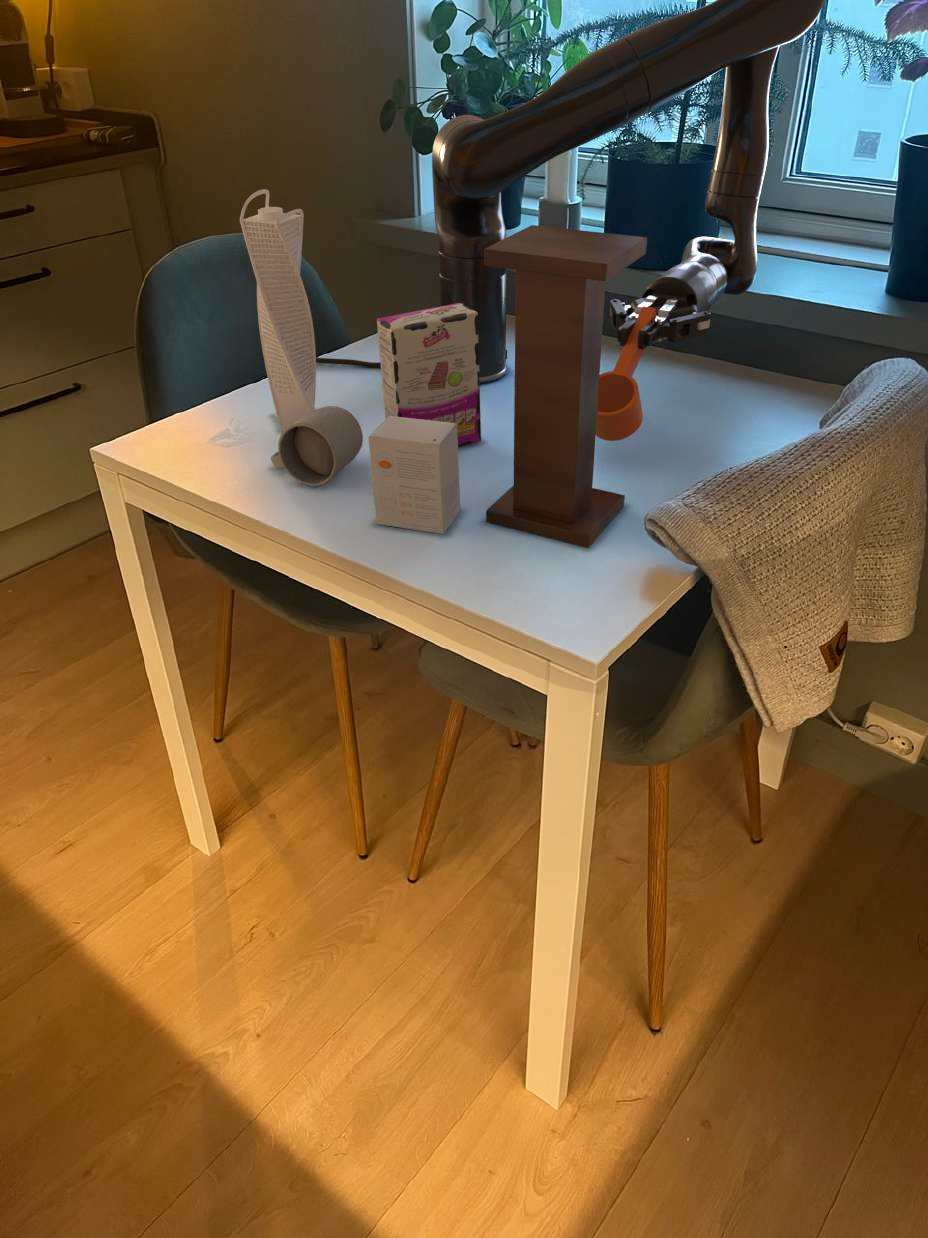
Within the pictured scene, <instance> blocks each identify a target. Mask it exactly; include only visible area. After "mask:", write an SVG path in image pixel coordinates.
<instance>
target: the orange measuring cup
mask: <svg viewBox="0 0 928 1238" xmlns="http://www.w3.org/2000/svg"><path fill="white" fill-rule="evenodd" d="M655 318H656V309H655V308H652V307H645V306H643V307H642V309H641V311H640V313H639V316H638V318H637V320H636V323H635V325H634V327H633V329H632V331H631V334H630V336H629V338H628V340H627V342H626V344H625V346H623V348H622V351H621V353H620V355H619V357H618V360H617V361H616V363H615V366H614V368H613V370H612V371H611V370H610V371H606V372H602V373H600V375H599V390H598V406H597V421H596V437H597V438H599V439H600V440H603V441H607V442H608V441H609V442H616V441H622V440H624V439H627V438H629V437H631V436H633V435H634V434H635V433H636V432H637V431H638V430H639V428H640V427H641V426H642V423H643V419H644V414H643V407H642V401H641V395H640V389H639V385H638V382H637V380H636V379H635V378H634V377H633V376H634V373H635V371H636V368H637V367H638V365H639V362H640V360H641V358H642V355H643V353H644V351H645V349H638V347H637V345H638V334H639V331H640V330H641V329H642V328H643V327H644V326H645V325H646V324H648V323H649V322H653V321H654V319H655Z"/></svg>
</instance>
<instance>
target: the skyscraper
mask: <svg viewBox="0 0 928 1238" xmlns="http://www.w3.org/2000/svg"><path fill="white" fill-rule="evenodd" d="M260 195H265V206H264V207H260V208H258V209H257V214H255V215H252V216H249V217H247V218H244V217H245V214H246V209H247V207H248V205H249V204H250V202H251V201H252V200H254V198H256V197H258V196H260ZM269 205H270V190H268V189H266V188H263V189H259V190H256V191H255V192H253V193H252V194H250V195H249V197H248V198H247V199H246V200H245V202H244V204H243V206H242V209H241V212H240V216H239V224H240V227H241V231H242V234H243V238H244V242H245V245H246V249H247V252H248V255H249V256H248V257H249V259H250V262H251V267H252V270H253V274H254V276H255V281H256V308H257V321H258V330H259V337H260V338H259V339H260V343H261V344H260V345H261V350H262V355H263V359H264V360H263V362H264V366H265V367H264V368H265V371H266V376H267V381H268V384H269V389H270V392H271V397H272V402H273V405H274V410H275V415H274V417H275V418H276V419H277V421H278V424H279V428H280V433H283V431H284V430H285V429H286V428H287V427H288V426H290V425H291V424H293V423H295V422H297V421H298V420H300V419H302V418H304V417H305V416H307V415H309V414H310V413H312V412H313V411H315V410H316V409H315V405H316V385H317V363H316V358H317V354H316V340H315V330H314V323H313V317H312V311H311V307H310V303H309V299H308V295H307V292H306V289H305V285H304V282H303V278H302V277H301V269H302V268H301V267H302V255H303V252H302V251H303V238H304V218H305V214H304V211H303V209H302V208H296V209H293V210H290V211H288V212H284V210H283V207H281V206H280V207H279V206H269Z"/></svg>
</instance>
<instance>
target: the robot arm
mask: <svg viewBox="0 0 928 1238" xmlns="http://www.w3.org/2000/svg"><path fill="white" fill-rule="evenodd" d="M824 2H825V0H714V1H712V2H711V3H708V4H706V5H705V6H702V7H699V8H697V9H694V10H691V11H687V12H685V13H681V14H679V15H675V16H672V17H669V18H666V19H662V20H660V21H657V22H655V23H652V24H650V25H647V26H644V27H642V28H639V29H637V30H635V31H633V32H630V33H628V34H626V35H624V36H622V37H620V38H618V39H616V40H614V41H611V42H610V43H608V44H606V45H603V46H602V47H600V48H599V49H597V50H595V51H593V52H592V53H590V54H588V55H586V56H585V57H583V58H582V59H581V60H579V61H578V62H576V63H575V64H574V65H573V66H572V67H570V68H569V69H568V70H567V71H566V72H564V73H563V74H562V75H561V76H559V78H558V79H556V80H555V81H554V82H553V83H552V84H551V85H550V86H549V87H547V88H546V89H545V90H544V91H543V92H541V93H540V94H539V95H537V96H535V97H533V98H532V99H531V100H528V101H527V102H525V103H522V104H521V105H518V106H516V107H514V108H511V109H509V110H507V111H505V112H502V113H500V114H498V115H495V116H492V117H489V118H486V119H483V118H481V117H479V116H476V115H471V114H463V115H458V116H455V117H453V118H451V119H449V120H447V122H445V124H443V125H442V127H440V129H439V131H438V132H437V134H436V136H435V139H434V142H433V146H432V150H431V151H432V152H431V173H432V175H431V176H432V177H431V178H432V193H433V208H434V209H433V213H434V214H433V215H434V224H435V229H436V234H437V245H438V269H439V270H438V271H439V272H438V273H439V274H438V275H439V301H440V304H439V305H440V306H446V305H452V304H457V303H462V304H464V306H467V307H469V308H470V309H472V310H474V311H476V312H477V313H478V346H479V384H480V383H488V382H493V381H496V380H498V379H500V378H502V377H503V376H505V375H506V373H507V363H506V362H507V360H508V349H507V268H499V267H491V266H485V265H484V249H485V248H487V247H489V246H491V245H493V244H495V243H497V242H499V241H501V240H503V239H505V238H507V229H506V225H505V221H504V217H503V216H504V215H503V210H502V209H503V208H502V192H503V191H505V190H506V189H508V188H509V187H511V186H512V185H514V184H515V183H517V182H518V181H520V180H521V179H522V178H524V177H525V176H527V175H528V174H530V173H532V172H533V171H534V170H536V169H538V168H539V167H541V166H543V165H544V164H546V163H547V162H549V161H551V160H552V159H555V158H557V157H558V156H560V155H562V154H565V153H567V152H568V151H572V150H574V149H576V148H578V147H581V146H583V145H585V144H587V143H589V142H591V141H592V142H593V140H595V139H596V140H597V139H598V138H600V137H602V136H604V135H606V134H608V133H610V132H613V131H615V130H617V129H619V128H622V127H624V126H625V125H627V124H629V123H632V122H633V121H635V120H637V119H639V118H641V117H643V116H645V115H646V114H649V113H651V112H653V111H654V110H656V109H658V108H660V107H661V106H663V105H665V104H667V103H668V102H670V101H672V100H674V99H676V98H677V97H679V96H681V95H682V94H684V93H686V92H687V91H689V90H691V89H692V88H694V87H695V86H697V85H699V84H700V83H702V82H704V81H705V80H707V79H708V78H710V77H711V76H714V74H716V73H719V72H720V71H722V70H724V69H725V77H724V85H723V87H724V88H723V98H722V107H721V113H720V114H721V115H720V122H719V128H718V135H717V140H716V146H715V151H714V156H713V160H712V161H713V162H712V165H711V171H710V177H709V181H708V182H709V183H708V187H707V192H706V196H705V202H704V212H705V214H706V215H707V216H708V217H710V218H712V219H714V220H717V221H719V222H722V223H724V224H726V225H727V226H729V227H730V228H731V229H730V230H731V231H732V233H733V238H734V240H732V239H725V238H718V237H712V236H698V237H695V238H692V239H690V240H689V242H688V243H687V244H686V246H685V247H684V250H683V253H682V256H681V261H680V263H679V264H677V265H674V266H673V267H671V268H669V269H668V270H667V271H665V272H664V273H663V274H661V275H660V276H658V278H656V279H655V280H654V281H652V282H651V283H650V284H649V285H648V286H647V287H646V289H645V291H644V292H643V294H642V295H641V298H638V299H634V300H632V301H631V303H630V304H627V305H626V303H625V302H621V300H620V299H617V298H613V299H610V301H609V302H610V303H609V304H610V305H609V317H608V320H609V323H610V325H611V327H612V329H613V331H614V333H615V334H616V335H617V343H618V342H619V346H620V347H624V346H625V344H626V342H627V340H628V338H629V336H630V334H631V331H632V329H633V327H634V325H635V323H636V320H637V318H638V316H639V313H640V311H641V309H642V307H643V306H645V307H652V308H655V309H656V318H655V319H654V321H653V322H649V323H648V324H646V325H645V326H644V327H643V328H642V329H641V330H640V331H639V334H638V345H637V347H638V349H644V350H646V348H648V347H651V346H653V345H654V344H655V343H660V342H662V341H664V340H667V342H670V343H678V342H681V341H686V340H689V339H695V338H698V337H702V336H706V335H708V334H709V331H710V327H711V325H710V324H711V314H712V313H711V312H710V309H711V308H712V306H713V305H714V304H715V303H716V302H718V301H719V299H720V298H721V297H722V296H723V295H724V294H725V295H729V296H739V295H742V294H744V293H746V292H747V291H748V290H749V288H751V286H752V284H753V283H754V281H755V279H756V277H757V272H758V250H757V249H758V248H757V215H758V207H759V201H760V196H761V192H762V187H763V182H764V178H765V173H766V169H767V164H768V155H769V143H770V142H769V141H770V140H769V139H770V138H769V137H770V133H769V131H770V129H769V128H770V127H769V96H770V87H771V86H770V85H771V79H772V73H773V69H774V65H775V62H776V58H777V55H778V52H779V49H780V47H781V46H783V45H786V44H789V43H791V42H794V41H795V40H797V39H799V38H800V37H802V36H803V35H804V34H805V33H806V32H807V31H809V29H810V28H811V27H812V26H813V25H814V23H815V22H816V20H817V18H818V17H819V15H820V13H821V11H822V9H823V5H824ZM380 362H381V361H379V362H371V361H365V360H357V359H349V358H331V357H330V358H328V357H316V364H328V365H347V366H355V367H361V368H369V369H381V363H380Z"/></svg>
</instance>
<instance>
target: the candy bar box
mask: <svg viewBox="0 0 928 1238" xmlns="http://www.w3.org/2000/svg"><path fill="white" fill-rule="evenodd" d="M376 328H377V337H378V348H379V350H378V351H379V360H380V361H379V362H380V363H381V368H380V373H381V374H380V375H381V381H382V383H381V384H382V396H383V404H384V405H383V406H384V407H383V408H384V417H385V419H386V418H387V417H388V416H395V417H404V418H413V419H422V420H431V421H440V422H449V423H456V424H457V438H458V448H461V447H465V446H470V445H473V444H477V443H480V442H482V422H481V416H482V415H481V393H480V392H481V385H480V383H479V346H478V313H477V312H476V311H474V310H472V309H470V308H469V307H467V306H464V304H462V303H457V304H452V305H446V306H441V305H440V306H436V307H431V308H425V309H420V310H416V311H411V312H410V311H409V312H405V313H400V314H394V315H390V316H385V317H379V318H376ZM385 419H384V420H385Z"/></svg>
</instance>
